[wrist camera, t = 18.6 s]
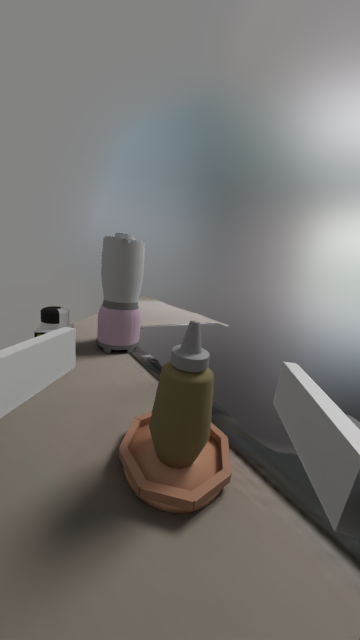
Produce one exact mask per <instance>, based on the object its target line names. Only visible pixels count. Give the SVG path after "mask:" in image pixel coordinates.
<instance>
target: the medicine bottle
mask: <svg viewBox="0 0 360 640" xmlns="http://www.w3.org/2000/svg"><path fill="white" fill-rule="evenodd" d="M62 327H70V328H74V325H73V324H69V310H68V309H66V308H64V307H46V308H43V309H42V310H41V326H40V327H39V328H38V329H37V330H35V337H37V336H40V335H43V334H46V333H49V332H51V331H54V330H57V329H60V328H62Z"/></svg>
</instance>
